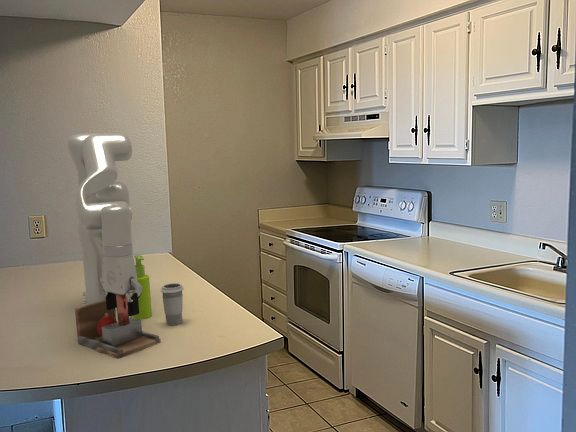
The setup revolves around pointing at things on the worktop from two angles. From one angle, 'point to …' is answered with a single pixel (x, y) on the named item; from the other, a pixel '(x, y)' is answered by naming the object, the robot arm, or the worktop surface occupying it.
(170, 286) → the cup
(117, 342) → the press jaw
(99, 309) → the frame
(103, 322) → the onion
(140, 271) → the soap dispenser
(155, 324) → the worktop surface
